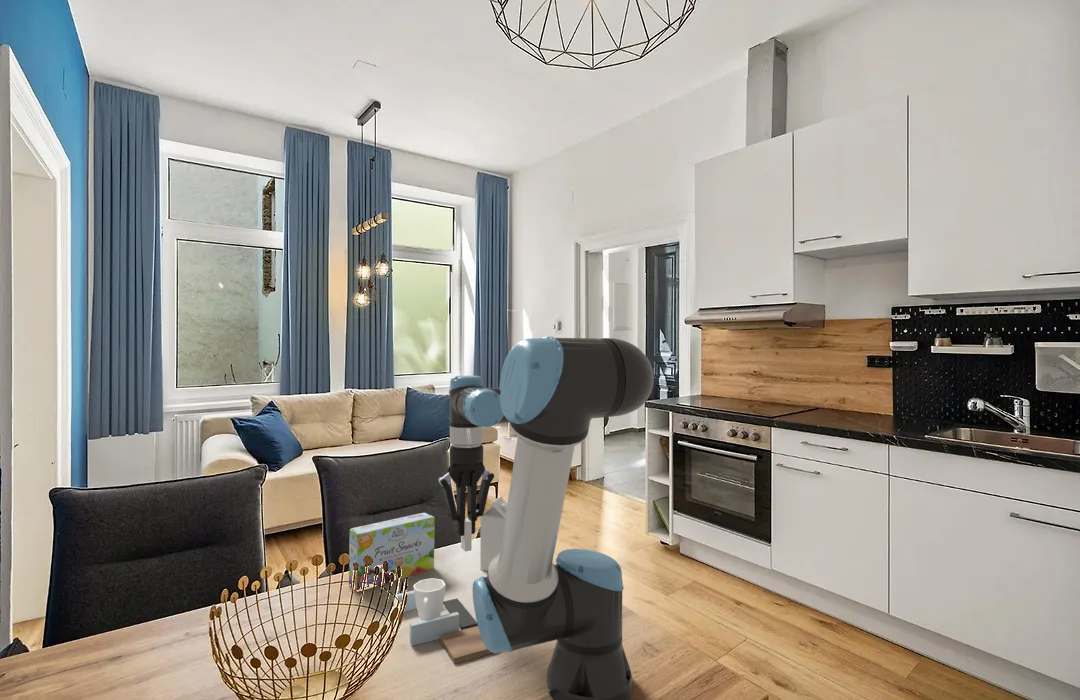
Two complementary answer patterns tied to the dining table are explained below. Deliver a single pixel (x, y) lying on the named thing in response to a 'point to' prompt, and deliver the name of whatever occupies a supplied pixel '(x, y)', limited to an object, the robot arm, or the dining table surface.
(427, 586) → the cup
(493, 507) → the milk carton
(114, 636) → the dining table surface
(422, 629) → the channel
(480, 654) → the trivet
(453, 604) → the mat
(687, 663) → the dining table surface
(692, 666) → the dining table surface
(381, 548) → the snack box
